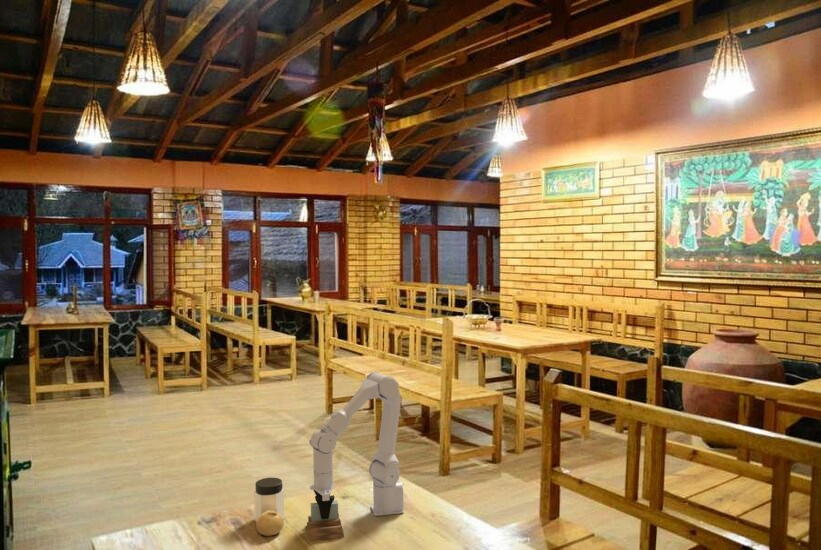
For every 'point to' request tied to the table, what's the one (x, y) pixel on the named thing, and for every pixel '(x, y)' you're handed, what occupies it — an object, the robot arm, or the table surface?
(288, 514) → the table surface
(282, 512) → the jar
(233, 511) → the table surface
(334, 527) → the rack
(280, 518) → the onion
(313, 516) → the pale green prism
